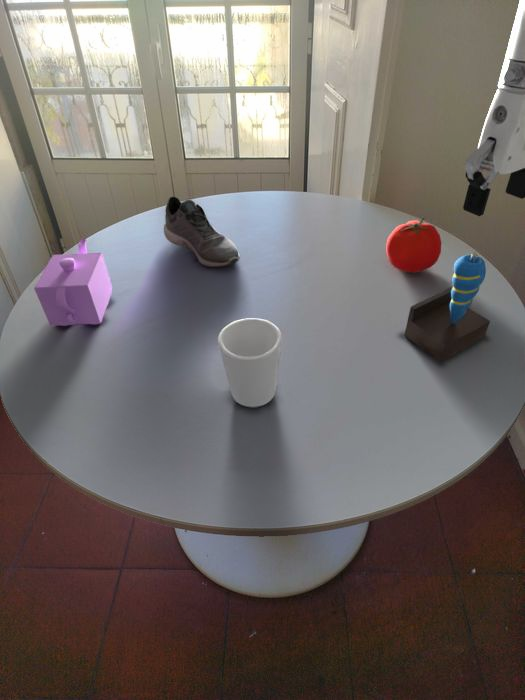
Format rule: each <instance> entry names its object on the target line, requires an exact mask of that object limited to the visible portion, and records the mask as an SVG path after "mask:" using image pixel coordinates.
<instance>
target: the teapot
mask: <svg viewBox="0 0 525 700" xmlns="http://www.w3.org/2000/svg"><path fill="white" fill-rule="evenodd" d="M77 247H78V249H77V253H62V254H53V255H52V256H51V258H50V259H49V261H48V262H47V265H46V266H45V268H44V269H43V271H42V272H41V275H40V277H39V278H38V280H37V281H36V283H35V285H34V291H35V294H36V297H37V298H38V301H39V303H40V305H41V308H42V310H43V312H44V315H45V317H46V319H47V322H48V324H49V326H51V327H52V326H62V327H68V326H71V325H72V326H73V325H93V326H94V325H95V326H96V325H99V324H101V323H102V322H103V318H104V316H105V313H106V310H107V307H108V305H109V303H110V300H111V296H112V293H113V291H114V288H113V284H112V281H111V278H110V274H109V271H108V268H107V264H106V261H105V257H104V254H103V253H102V252H88V249H87V239H86V238H82V239H81V240H79V243H78V246H77Z"/></svg>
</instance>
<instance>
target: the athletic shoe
mask: <svg viewBox="0 0 525 700" xmlns="http://www.w3.org/2000/svg"><path fill="white" fill-rule="evenodd" d="M164 216H165V217H164V218H165V219H164V221H165V223H164V226H163V234H164V236H165V238H166V240H167V241H169V242H170V243H172V244H174V245H176V246H180V247H183V248H187V249H189V250H191V251H192V252H193V253H194V254H195V256H196V258H197V260H198V262H199V263H200V264H201V265H203V266H206V267H210V268H222V267H227V266H230V265H232V264H234V263H236V262H238V261H239V260H240V259H241V255H240V252H239V250H238V248H237V246H236V245H235V244H234V242H233V241H232V240H230V238H228V237H226V236H225V235H224V234H222V233H220V232H219V231H218V230H217V229H216V228H215V227H214V226H213V224H212V223H211V222H210V220H209V219H208V217H207V215H206V213H205V209H204V208H202V206H200V204H199V203H197V204H196V202H195V201H194V200H192V199H186V200H184V201H182V202H181V201H180V199H179V198H178V197H176V196H170V197H169V198H168V200H167V203H166V206H165V215H164Z"/></svg>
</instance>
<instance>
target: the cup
mask: <svg viewBox="0 0 525 700" xmlns="http://www.w3.org/2000/svg"><path fill="white" fill-rule="evenodd" d="M282 342H283V335H282V332H281V330H280V329H279V328H278V327H277V326H276V325H275V324H274V323H273V322H271V321H269V320H267V319H262V318H255V317H254V318H252V317H250V318H242V319H238V320H234V321H232V322H231V323H229V324H227V325H226V326H225V327H223V328H222V330H221V331H220V332H219V334H218V337H217V343H218V347H219V348H218V349H219V352H220V356H221V359H222V363H223V368H224V370H225V374H226V375H225V376H226V378H227V382H228V387H229V390H230V393H231V396H232V399H233V401H234V402H235V403H236V404H237V403H238V404H240V405H241V406H244V407H246V408H250V409H251V410H255V409H257V408H259V407H261V406H264V405H266V404H268V403H271V402H272V401H273V400H274V398H275V395H276V393H277V386H278V385H277V384H278V378H279V377H278V376H279V368H280V360H281V351H282Z"/></svg>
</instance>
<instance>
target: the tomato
mask: <svg viewBox="0 0 525 700" xmlns="http://www.w3.org/2000/svg"><path fill="white" fill-rule="evenodd" d="M425 219H426V218H425V217H422V218H421V220H420V221H419V220H418V219H415V220H408V222H406V223H402V224H399V225H398V226H396V227H395V228H394V230H393V231H392V232H391V233H390V235H389V236H388V238H387V241H386V245H385V248H386V249H385V250H386V256H387V259H388V261H389V263H390V265H392V266H393V267H394V268H395V269H397V270H399V271H403V272H407V273H410V274H411V273H412V274H413V273H414V274H415V273H417V274H418V273H420V272H423V271H425V270H427V269H430V268H432V267H433V266H434V265H435V264H436V263H437V262H438V260H439V258H440V255H441V253H442V239H441V235H440V233H439V232H438V230H437V228H436V227H435V225H432V224H430V223H425V222H424V223H423V221H424V220H425Z"/></svg>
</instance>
